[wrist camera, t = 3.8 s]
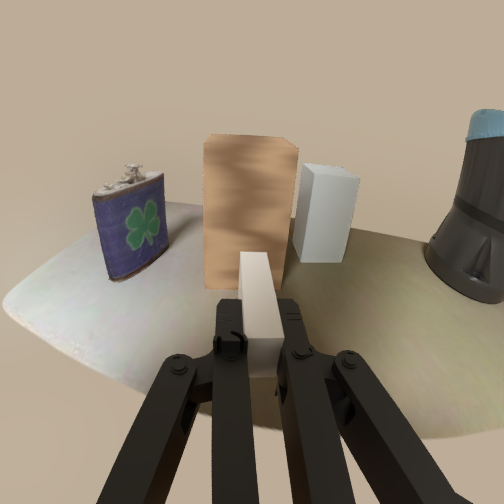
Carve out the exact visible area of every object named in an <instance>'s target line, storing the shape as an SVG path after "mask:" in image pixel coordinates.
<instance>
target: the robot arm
mask: <svg viewBox="0 0 504 504" xmlns="http://www.w3.org/2000/svg"><path fill="white" fill-rule="evenodd" d="M465 142H467V145H466V151H465V156H464V161H463V166H462V170H461V174H460V179H459V183H458V187H457V191H456V195H455V198H454V202H453V206H452V208H451V210H450V212H449V213H448V215H447V216H446V218H445V219H444V221H443V222H442V224H441V225H440V227H439V229H438V230H437V232H436V234H434V235H433V236H432V238H431V239H430V242H429V244H428V247H427V250H426V253H425V257H426V260H427V263H428V264H429V266H430V267H431V269H432V270H433V271H434V272H435V273H436V274H437V275H438V276H439V277H440V278H441V279H442V280H443V281H445V282H446V283H447V284H448V285H450V286H451V287H453V288H454V289H456V290H457V291H459V292H461V293H462V294H464V295H466V296H468V297H470V298H472V299H475V300H478V301H481V302H484V303H490V304H497V303H500V302H502V301H503V300H504V111H502V110H495V109H481V110H478V111H476V112H475V113H474V114H473V115H472V117H471V120H470V125H469V131H468V136H467V138H466V141H465ZM238 291H239V299H221V300H220V302H219V303H218V305H217V312H216V331H215V336H214V339H213V350H212V351H211V352H210V353H209V354H207V355H206V356H203V357H200V358H196V359H192V358H191V357H189V356H187V355H185V354H175V355H172V356H170V357H168V358H167V359H166V360H165V361H164V362H163V364H162V366H161V368H160V370H159V372H158V374H157V376H156V378H155V380H154V382H153V384H152V386H151V388H150V390H149V392H148V394H147V396H146V398H145V400H144V402H143V405H142V407H141V408H140V410H139V412H138V414H137V417H136V419H135V421H134V423H133V425H132V427H131V429H130V431H129V433H128V435H127V437H126V439H125V442H124V444H123V446H122V448H121V450H120V452H119V454H118V456H117V459H116V461H115V463H114V465H113V467H112V469H111V472H110V474H109V476H108V478H107V480H106V483H105V485H104V487H103V490H102V492H101V494H100V496H99V498H98V501H97V503H96V504H165V502H166V499H167V496H168V494H169V491H170V488H171V485H172V482H173V480H174V477H175V474H176V471H177V468H178V465H179V463H180V460H181V457H182V454H183V451H184V449H185V446H186V443H187V440H188V437H189V435H190V431H191V428H192V426H193V423H194V420H195V418H196V415H197V412H198V409H199V406H200V404H201V403H204V402H208V401H212V504H259V495H258V484H257V474H256V462H255V450H254V438H253V425H252V413H251V400H250V386H249V378H268V377H276V373H277V375H278V383H277V386H276V390H275V396H277V394H278V399H279V406H280V413H281V420H282V427H283V434H284V441H285V448H286V455H287V463H288V469H289V477H290V484H291V492H292V499H293V504H356V503H355V499H354V494H353V490H352V486H351V481H350V477H349V473H348V468H347V464H346V460H345V456H344V452H343V448H342V444H341V440H340V436H339V432H340V434H341V436H342V438H343V439H344V441H345V443H346V445H347V446H348V448H349V450H350V452H351V453H352V455H353V457H354V459H355V460H356V462H357V464H358V466H359V467H360V469H361V471H362V473H363V474H364V476H365V478H366V480H367V482H368V483H369V485H370V487H371V488H372V490H373V492H374V494H375V495H376V497H377V499H378V501H379V502H380V504H473V503H471V502H470V501H468V500H466V499H465V498H463V497H462V496H460V495H459V494H457V493H455V492H454V490H453V488H452V487H451V485H450V484H449V482H448V481H447V479H446V477H445V476H444V474H443V473H442V472H441V470H440V469H439V467H438V465H437V464H436V462H435V461H434V459H433V458H432V456H431V455H430V453H429V452H428V450H427V449H426V447H425V446H424V444H423V443H422V441H421V440H420V438H419V437H418V435H417V434H416V433H415V431H414V430H413V428H412V427H411V425H410V424H409V422H408V421H407V419H406V418H405V417H404V415H403V414H402V412H401V411H400V409H399V408H398V407H397V405H396V404H395V402H394V401H393V399H392V398H391V397H390V395H389V394H388V392H387V391H386V390H385V388H384V387H383V385H382V384H381V383H380V381H379V380H378V378H377V377H376V376H375V374H374V373H373V371H372V370H371V369H370V367H369V366H368V364H367V363H366V362H365V360H364V359H363V358H362V357H361V356H360V355H359V354H358V353H356V352H354V351H350V350H345V351H341V352H339V353H338V354H337V356H331V355H326V354H322V353H319V352H317V351H316V350H315V348H314V347H313V346H312V345H310V343H309V341H308V337H307V334H306V330H305V327H304V323H303V321H302V317H301V314H300V310H299V306H298V305H297V304H296V302H295V301H294V300H293V299H276V294H275V290H274V285H273V280H272V275H271V271H270V266H269V261H268V257H267V252H240V268H239V289H238ZM338 430H339V432H338Z"/></svg>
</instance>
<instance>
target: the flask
mask: <svg viewBox="0 0 504 504" xmlns="http://www.w3.org/2000/svg"><path fill="white" fill-rule="evenodd" d="M125 166H126V167H127V172H126V173H125V174H124V175H123V176H122V178H121V179H122V180H116V181H114V182H115V183H114V184H112V185H109V184H108V183H104V187H102V188H100V189H99V190H97V191H95V193H94V194H93V196H92V201H93V206H94V210H95V211H94V213H95V217H96V223H97V229H98V233H99V237H100V242H101V247H102V252H103V254H104V260H105V264H106V268H107V271H108V275H109V279H108V280H111V281H113V282H121V281H125V280H127V279H129V278H131V277H132V276H134V275H136V274H137V273H139V272H140V271H142V270H144V269H145V268H146V267H147V266H149V265H150V264H151V263H152V262H153V261H155V260H156V259H157V258H158V257H159V256H160V255H162V254H163V253H164V252H165V251H166V250H167V248H168V233H167V224H166V213H165V197H164V174H163V173H162V172H161V171H151V172H146V173H144V174H142V175H140V172H138V168H139V167H142V165H141V166H140V165H135V164H132V163H131V164H126V165H125ZM117 182H120V183H117Z"/></svg>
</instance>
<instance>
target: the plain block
mask: <svg viewBox="0 0 504 504" xmlns="http://www.w3.org/2000/svg"><path fill="white" fill-rule="evenodd" d="M298 150H299V148H298V147H296V146H295V145H293V144H292V143H290V142H289V141H287V140H286V139H284V138H281V137H268V136H252V135H226V134H211V135H210V136H209V138H208V139H207V140H206V141H205V143H204V157H203V158H204V159H203V233H204V271H205V289H230V290H238V289H239V268H240V252H267V257H268V261H269V266H270V271H271V275H272V280H273V285H274V290H281V283H282V277H283V270H284V263H285V256H286V249H287V242H288V234H289V227H290V219H291V212H292V204H293V194H294V186H295V178H296V170H297V160H298V152H299V151H298Z"/></svg>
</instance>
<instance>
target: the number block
mask: <svg viewBox="0 0 504 504" xmlns="http://www.w3.org/2000/svg"><path fill="white" fill-rule="evenodd" d="M359 182H360V178H358V177H357V176H355V175H354V174H352V173H350V172H349V171H348V170H346V169H344V168H343V167H335V166H326V165H317V164H308V163H302V171H301V180H300V187H299V195H298V203H297V210H296V217H295V225H294V232H293V239H292V242H293V245H294V247H295V250H296V252H297V255H298V257H299V260H300V262H311V263H342V260H343V256H344V252H345V248H346V244H347V240H348V235H349V231H350V227H351V222H352V218H353V213H354V208H355V203H356V198H357V193H358V188H359Z"/></svg>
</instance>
